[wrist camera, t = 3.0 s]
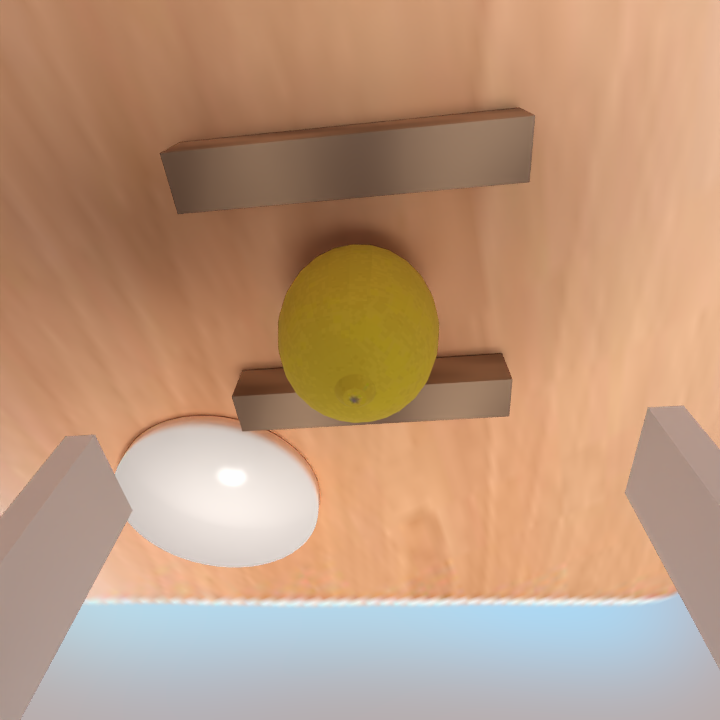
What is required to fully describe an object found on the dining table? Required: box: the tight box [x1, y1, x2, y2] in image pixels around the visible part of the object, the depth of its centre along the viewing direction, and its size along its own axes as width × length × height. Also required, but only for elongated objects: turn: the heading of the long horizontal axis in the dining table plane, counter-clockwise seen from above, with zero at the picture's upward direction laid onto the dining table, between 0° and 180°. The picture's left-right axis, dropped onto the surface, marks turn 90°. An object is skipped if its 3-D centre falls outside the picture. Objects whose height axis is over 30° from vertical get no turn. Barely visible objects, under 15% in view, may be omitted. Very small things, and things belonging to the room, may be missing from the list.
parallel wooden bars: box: [160, 108, 535, 431], centre depth 20 cm, size 12×12×2 cm
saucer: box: [115, 416, 320, 567], centre depth 27 cm, size 11×11×1 cm
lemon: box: [278, 244, 439, 423], centre depth 17 cm, size 6×6×8 cm
